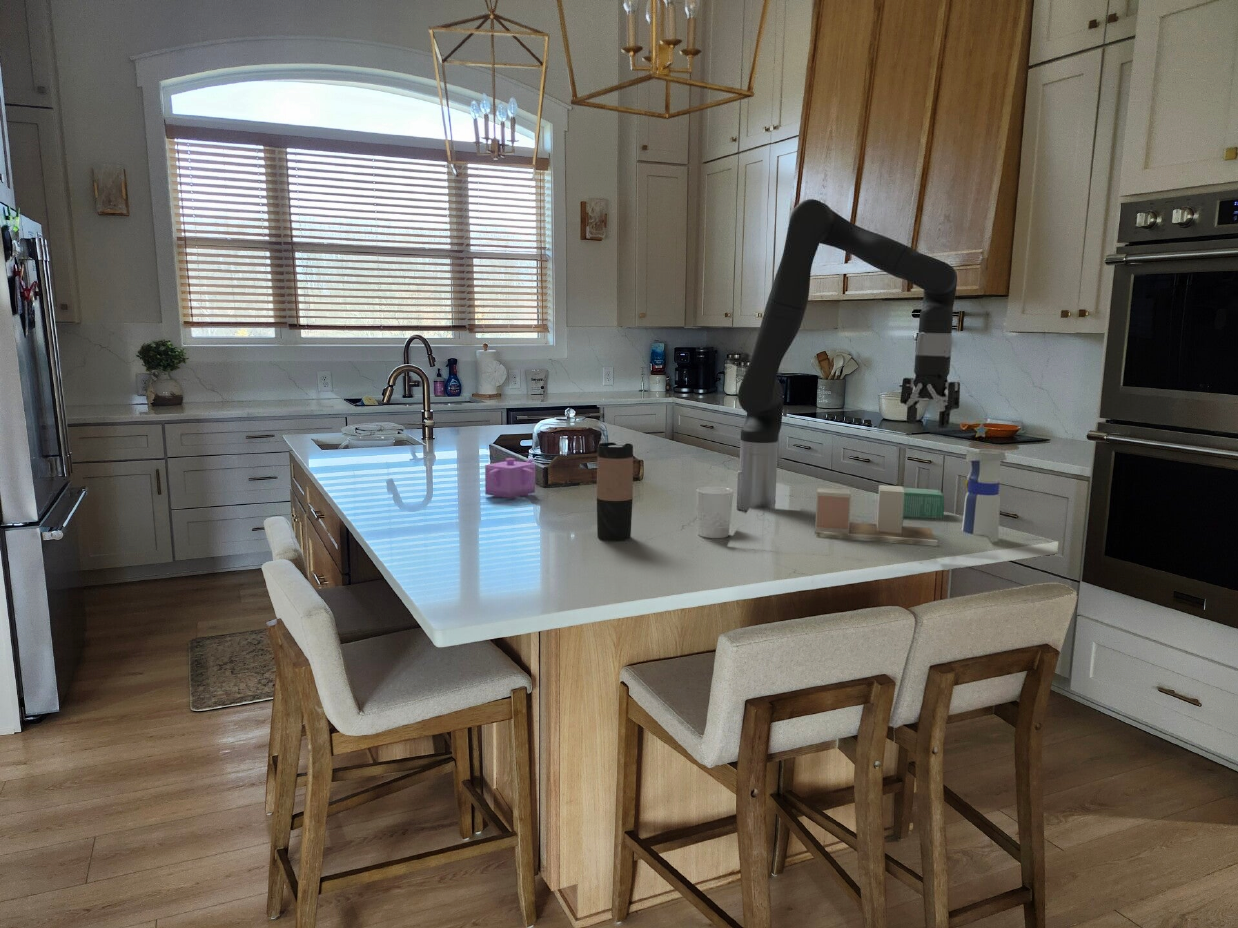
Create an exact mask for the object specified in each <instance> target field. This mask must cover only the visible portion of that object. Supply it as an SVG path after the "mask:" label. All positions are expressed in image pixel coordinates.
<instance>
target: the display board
mask: <svg viewBox="0 0 1238 928" xmlns="http://www.w3.org/2000/svg"><path fill="white" fill-rule="evenodd" d="M816 537H817V538H823V539H835V540H851V541H863V542H864V541H869V542H876V543H877V542H880V543H890V544H901V545H918V546H919V545H920V546H932V547H937V546H938V542H939V541H938V540H937V539H935V536H934V534H933V531H932V529H931V527H925V526H924V527H921V526H909V525H903V527H902V533H892V532H878V531H877V523H867V522H854V521H853V522H851V521H849V534H848V533H834V532H820V531H817V533H816Z"/></svg>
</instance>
